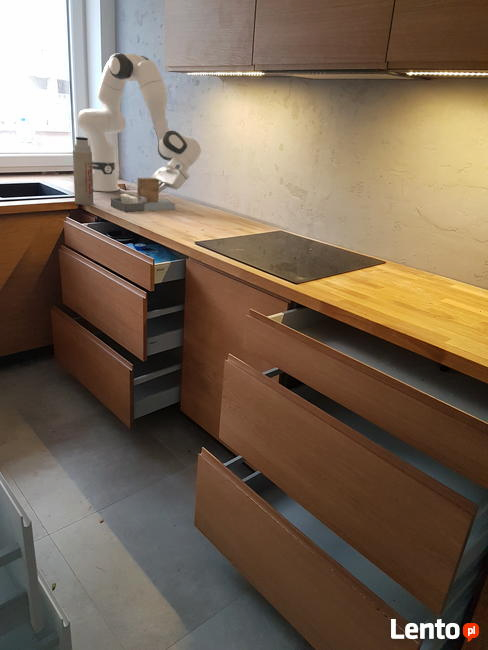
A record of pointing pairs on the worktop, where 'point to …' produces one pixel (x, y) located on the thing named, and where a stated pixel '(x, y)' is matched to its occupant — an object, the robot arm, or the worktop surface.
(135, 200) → the tile
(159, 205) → the board
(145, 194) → the brown boxy piece
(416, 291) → the worktop surface
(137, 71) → the robot arm
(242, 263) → the worktop surface
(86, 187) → the thermos bottle
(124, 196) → the tile
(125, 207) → the tray
